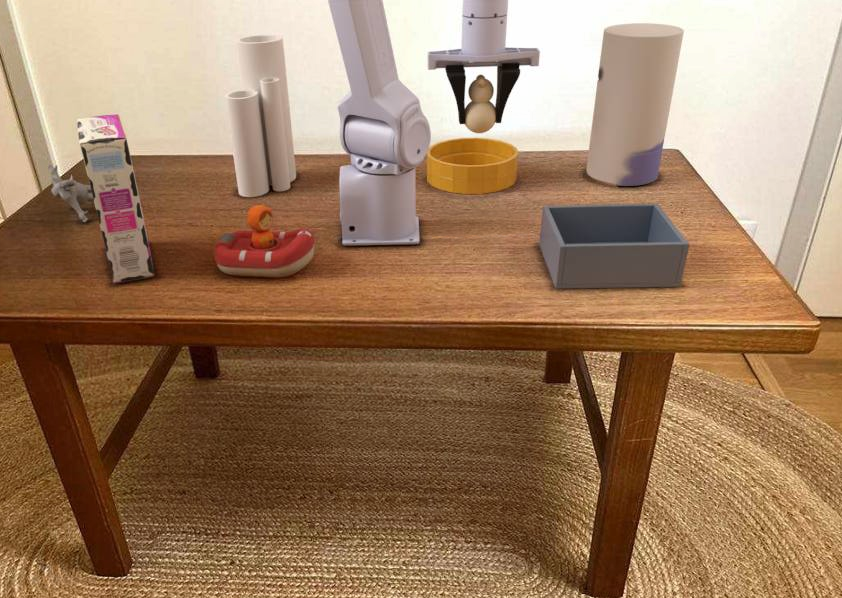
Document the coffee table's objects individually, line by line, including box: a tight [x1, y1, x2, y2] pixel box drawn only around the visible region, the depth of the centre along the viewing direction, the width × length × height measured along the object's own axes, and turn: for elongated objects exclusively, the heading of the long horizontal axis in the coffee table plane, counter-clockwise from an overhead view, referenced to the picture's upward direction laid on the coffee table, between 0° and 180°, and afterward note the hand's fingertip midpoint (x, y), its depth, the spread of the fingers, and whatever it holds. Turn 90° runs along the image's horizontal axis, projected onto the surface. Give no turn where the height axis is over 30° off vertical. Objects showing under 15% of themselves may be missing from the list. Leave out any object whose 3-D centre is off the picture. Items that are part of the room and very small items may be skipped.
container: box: [585, 22, 685, 187], centre depth 101 cm, size 10×10×20 cm
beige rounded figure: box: [464, 74, 496, 134], centre depth 99 cm, size 5×5×8 cm
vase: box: [224, 34, 297, 198], centre depth 104 cm, size 11×7×20 cm, turn 166°
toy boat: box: [214, 204, 315, 279], centre depth 83 cm, size 8×12×8 cm, turn 81°
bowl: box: [426, 137, 520, 195], centre depth 105 cm, size 13×13×4 cm
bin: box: [538, 203, 691, 290], centre depth 81 cm, size 13×11×5 cm
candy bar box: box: [76, 114, 156, 284], centre depth 84 cm, size 11×5×16 cm, turn 21°
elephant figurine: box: [47, 163, 94, 223], centre depth 102 cm, size 10×6×9 cm
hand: (480, 121), depth 100 cm, fingers closed on beige rounded figure, 4 cm apart
